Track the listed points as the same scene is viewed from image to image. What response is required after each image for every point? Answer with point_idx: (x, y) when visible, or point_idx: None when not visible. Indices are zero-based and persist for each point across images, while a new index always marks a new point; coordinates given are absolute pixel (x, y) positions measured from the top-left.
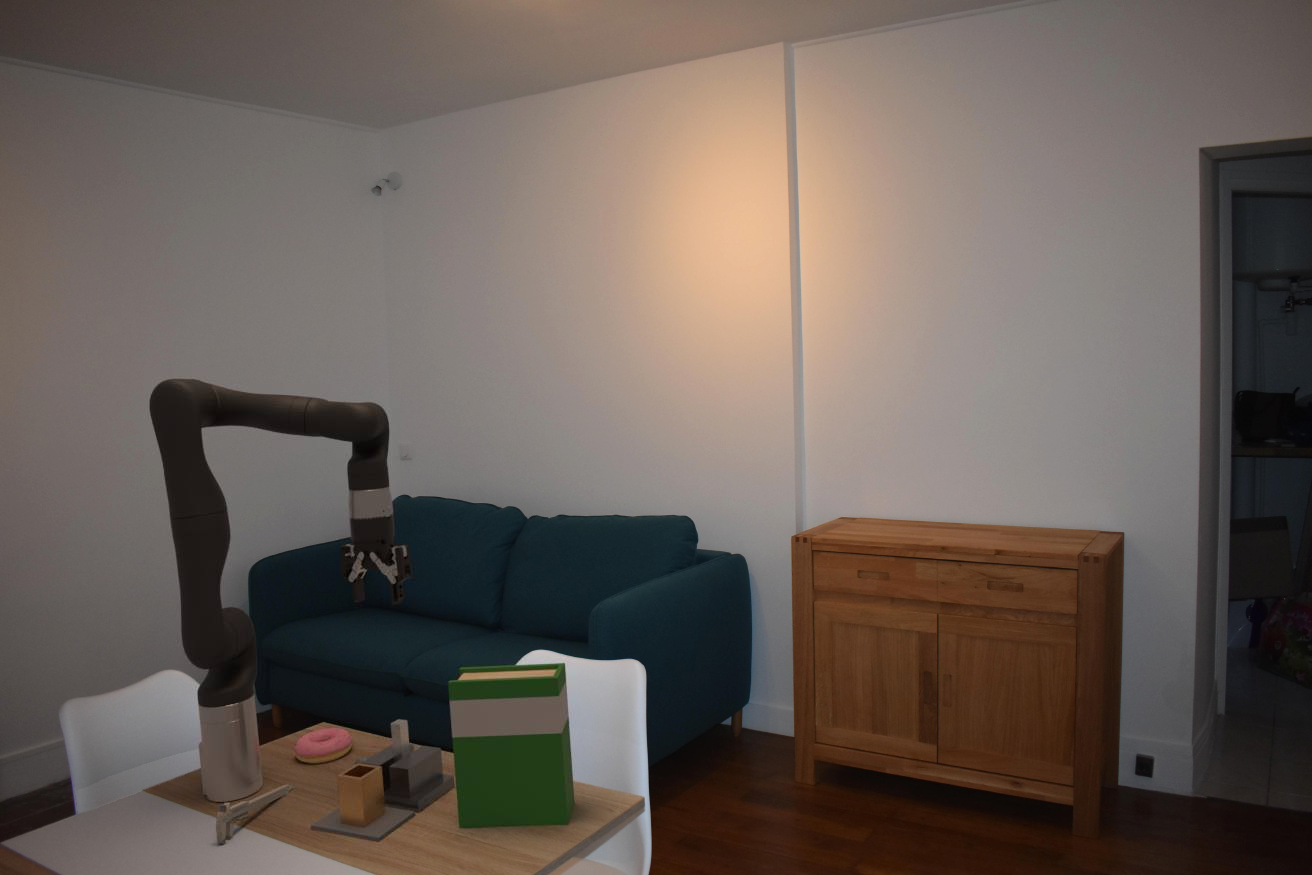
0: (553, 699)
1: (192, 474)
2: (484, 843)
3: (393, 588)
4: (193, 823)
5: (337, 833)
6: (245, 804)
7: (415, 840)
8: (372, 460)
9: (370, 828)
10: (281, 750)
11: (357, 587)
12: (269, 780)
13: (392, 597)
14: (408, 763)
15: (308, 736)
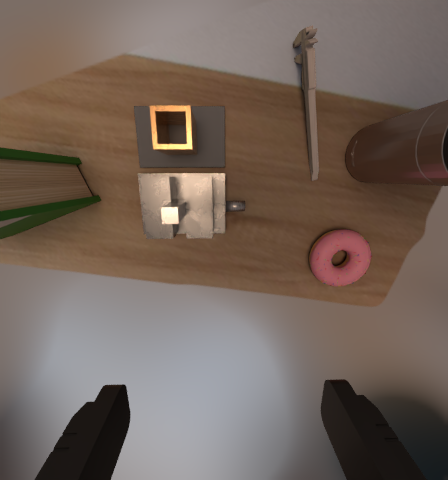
0: None
1: None
2: (32, 138)
3: (55, 477)
4: (363, 75)
5: None
6: (307, 82)
7: (101, 121)
8: None
9: None
10: (388, 248)
11: (367, 465)
12: (350, 186)
13: (99, 413)
14: (152, 190)
15: (361, 256)
